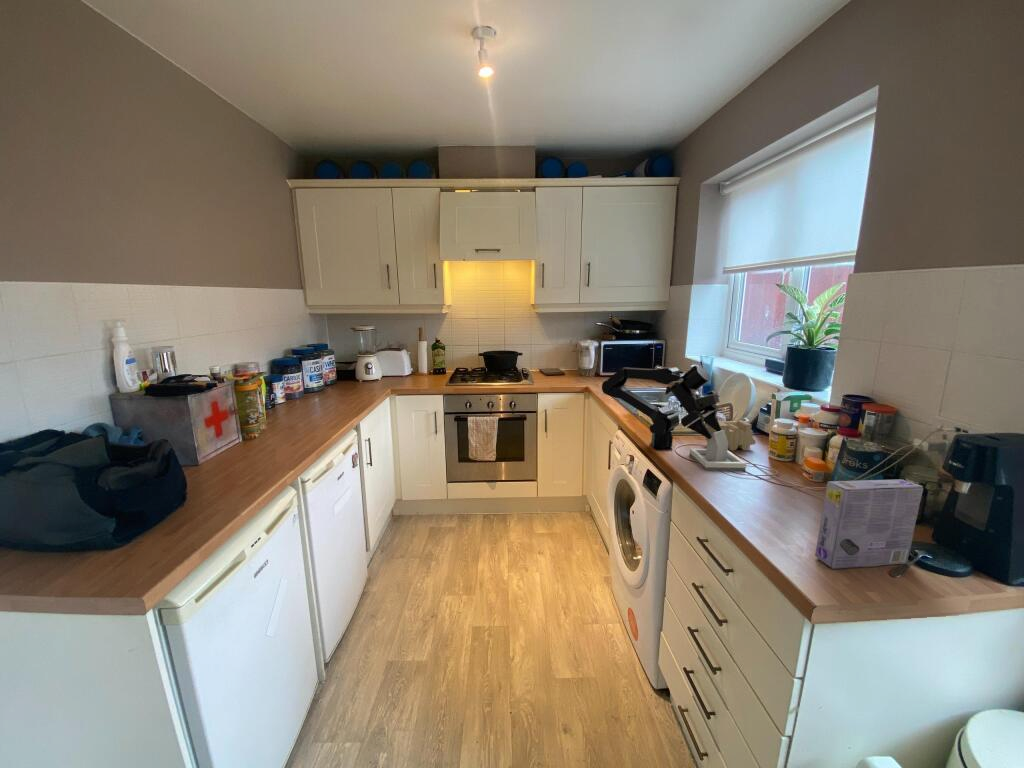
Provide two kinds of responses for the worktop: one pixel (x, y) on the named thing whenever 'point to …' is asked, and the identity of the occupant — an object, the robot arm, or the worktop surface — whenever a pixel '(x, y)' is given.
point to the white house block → (717, 447)
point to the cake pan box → (868, 522)
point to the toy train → (736, 434)
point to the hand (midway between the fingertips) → (715, 435)
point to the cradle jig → (728, 464)
